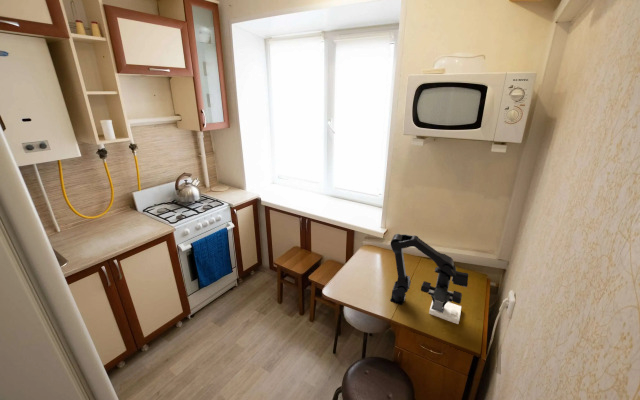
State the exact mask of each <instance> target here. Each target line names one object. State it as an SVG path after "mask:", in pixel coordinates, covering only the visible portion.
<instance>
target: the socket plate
mask: <svg viewBox="0 0 640 400" xmlns="http://www.w3.org/2000/svg"><path fill="white" fill-rule="evenodd" d="M433 307H434V304H433V300H431V304H430V306H429V311H428V315H431V316H434V317H437V318H440V319H442V320H445V321H448V322H450V323H454V324H457V325H459V322H460V319H461V311H462V305H460V304H459V305H458V304H457V303H456V304H455V303H454V302H453V303H452V302H447V303H446V304H445V305H444V307H442V311H439V310H436V309H434V308H433Z"/></svg>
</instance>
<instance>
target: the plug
mask: <svg viewBox="0 0 640 400" xmlns="http://www.w3.org/2000/svg"><path fill="white" fill-rule="evenodd" d="M442 306H443V302H440V301H437V300H435V302H434V307H433V308H434V309H436V310H439V311H442Z"/></svg>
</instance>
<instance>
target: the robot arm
mask: <svg viewBox="0 0 640 400" xmlns="http://www.w3.org/2000/svg"><path fill="white" fill-rule="evenodd" d="M390 246H391V250H392V252H393V253H394V257H395V264H396V272H397V281H394V285H393V286H392V291H391V297H390V300H389V301H390V302H392V303H395V304H397V305H400V306H403V304H404V303H405V302H406V301H405V300H406V293H408V291H409V290H410V286H411V283H412V282H411V281H412V280H411V276H410V275H407V273H406V264H405V257H404V249H407V248H410V247H414V248H416V249H417V250H418V251H420V252H421V253H422V254H423V255H425V256H427V257H428V258H429V259H431V260H432V261H433V262H434V263H435V264H436V266H437V267H435V268H434V273H437V278H436V279H437V280H436V284H435V286H432V283H431V282H428V281H423V282H422V284H421V286H420V291H421V292H423V293H427V294H428V296H431V299H432V300H433V304H434V302H435V300H437V301H440V302H443V306H442V307H444V305H445V304H446V303H447V302H450V303H452V302H453V303H454V304H455V303H456V304H457V305H458V304H459V305H460V304H461V302H462V296H463V294H462V292H460V291H456V290H453V291H451V290H449V288H450V282H452V285H457V286H460V287H463V288H468V284H469V273H467V272H462V271H458V270H457V267H456V266H455V264H454V259H453V258H452V257H451V256H449V255H447V254H445V253H441V252H439V251H438V250H436V249H435V248H433V247H432V246H430V245H429V244H428V243H426V242H425V241H423V240H422V239H420V238H419V236H418V235H410V234H400V233H395V234H394V235H393V236H392V238H391V241H390ZM432 300H431V301H432Z"/></svg>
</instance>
